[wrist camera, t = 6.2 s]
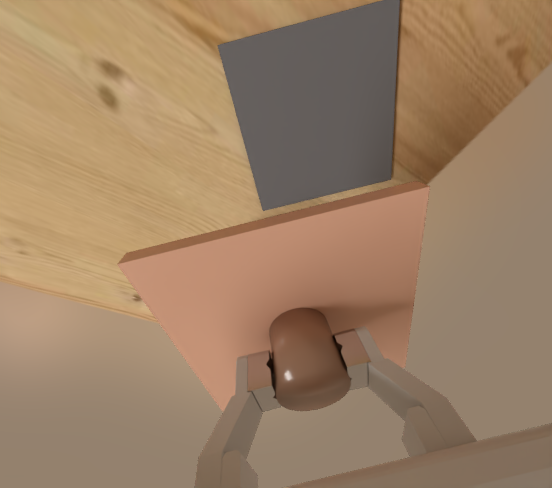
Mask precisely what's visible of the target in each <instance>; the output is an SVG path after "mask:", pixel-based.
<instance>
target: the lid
mask: <svg viewBox="0 0 552 488" xmlns="http://www.w3.org/2000/svg"><path fill="white" fill-rule="evenodd" d="M429 190H430V186H428V185H425V184H423V183H420V182H418V181H413V182H409V183H405V184H401V185H397V186H393V187H389V188H385V189H381V190H377V191H373V192H369V193H365V194H361V195H357V196H353V197H349V198H345V199H341V200H337V201H333V202H329V203H325V204H321V205H317V206H313V207H309V208H305V209H301V210H297V211H293V212H289V213H285V214H281V215H277V216H273V217H269V218H265V219H261V220H257V221H253V222H249V223H245V224H241V225H237V226H233V227H229V228H225V229H221V230H217V231H213V232H209V233H205V234H201V235H197V236H193V237H189V238H185V239H181V240H177V241H173V242H169V243H165V244H161V245H157V246H153V247H149V248H145V249H141V250H137V251H133V252H129V253H126V254H125V255H124V257H123V258H122V259H121V260H120V262H119V263H118V264H117V265H118V266H119V268H120V269H121V270H122V272H123V273H124V275H125V276H126V277H127V279H128V280H129V282H130V283H131V284H132V286H133V287H134V289H135V290H136V291H137V293H138V294H139V296H140V297H141V298H142V300H143V301H144V303H145V304H146V305H147V307H148V308H149V310H150V311H151V312H152V314H153V315H154V316H155V318H156V319H157V321H158V322H159V323H160V325H161V326H162V328H163V329H164V330H165V332H166V333H167V335H168V336H169V337H170V339H171V340H172V342H173V343H174V344H175V346H176V347H177V348H178V350H179V351H180V353H181V354H182V355H183V357H184V358H185V360H186V361H187V362H188V364H189V365H190V367H191V368H192V369H193V371H194V372H195V374H196V375H197V376H198V378H199V379H200V380H201V382H202V383H203V385H204V386H205V388H206V389H207V390H208V392H209V393H210V395H211V396H212V397H213V399H214V400H215V402H216V403H217V404H218V406H219V407H220V409H221V410H222V411H224V410H225V408H226V406H227V404H228V402H229V401H230V399H231V397H232V396H234V395H235V386H236V361H237V357H240V356H244V355H248V354H253V353H257V352H261V351H266V350H270V352H271V357H272V364H273V373H274V382H275V391H276V399H277V401H278V403H279V404H280V405H281V406H283V407H285V408H287V409H290V410H295V411H310V410H316V409H320V408H324V407H326V406H329V405H331V404H333V403H335V402H337V401H339V400H340V399H341V398H343V397H344V396H345V395H346V394H347V392H348V391H349V389H350V386H351V380H350V377H349V375H348V373H347V371H346V368H345V366H344V363H343V361H342V358H341V354H340V352H339V350H338V348H337V345H336V343H335V340H334V337H333V334H334V333H338V332H342V331H345V330H349V329H355V328H358V327H362V326H365V327H366V328H367V329H368V331H369V333H370V334H371V336H372V338H373V340H374V341H375V343H376V345H377V347H378V348H379V350H380V352H381V354H382V355H383V357H384V359H386V358H388V359H390V360H391V361H393V362H394V363H396V364H397V365H399V366H400V367H402V368H404V367H405V364H406V357H407V350H408V343H409V335H410V328H411V321H412V313H413V306H414V299H415V291H416V285H417V277H418V270H419V263H420V256H421V248H422V241H423V233H424V226H425V219H426V212H427V204H428V197H429Z"/></svg>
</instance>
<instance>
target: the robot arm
mask: <svg viewBox="0 0 552 488" xmlns="http://www.w3.org/2000/svg"><path fill="white" fill-rule="evenodd" d="M333 337H334V340H335V343H336V345H337V348H338V350H339V352H340V354H341V358H342V361H343V363H344V366H345V368H346V371H347V373H348V375H349V377H350V380H351V386H350V389H349V390H354V389H359V388H363V387H368V386H369V388H370V389H371V390H372V391H373V392H374V393H375V394H376V395H377V396H378V397H380V398H381V399H382V400H383V401H384V402H385V403H386V404H387V405H388V406H389V407H390V408H391V409H392V410H393V411H395V412H396V413H397V414H398V415H399V416H400V417H401V418H402V419H403V420H404V421H405V425H404V431H403V436H402V441H403V443H404V446H405V448H406V450H407V452H408V454H409V456H410V457H408V458H404V459H400V460H396V461H391V462H387V463H383V464H379V465H375V466H371V467H367V468H362V469H358V470H354V471H350V472H346V473H342V474H337V475H333V476H329V477H325V478H321V479H317V480H312V481H308V482H304V483H300V484H296V485H292V486H288V487H283V488H552V423H550V424H545V425H541V426H537V427H533V428H529V429H525V430H520V431H517V432H512V433H508V434H504V435H500V436H496V437H492V438H487V439H483V440H479V441H477V440H476V439H475V438H474V436H473V435H472V433H471V432H470V430H469V429H468V427H467V426H466V425H465V423H464V422H463V420H462V419H461V418H460V416H459V415H458V413H457V412H456V410H455V409H454V408H453V406H452V405H451V403H450V402H449V400H448V399H447V398H446V397H445V396H443V395H442V394H440V393H439V392H437V391H436V390H434V389H433V388H431V387H430V386H428V385H427V384H425V383H424V382H422V381H421V380H419V379H418V378H416V377H415V376H413V375H412V374H410V373H409V372H407V371H406V370H405V369H403V368H402V367H400V366H399V365H397V364H396V363H394V362H393V361H391V360H390V359H388V358H386V359H384V357H383V355H382V354H381V352H380V350H379V348H378V347H377V345H376V343H375V341H374V340H373V338H372V336H371V334H370V333H369V331H368V329H367V328H366V327H365V326H362V327H358V328H355V329H349V330H345V331H342V332H338V333H334V334H333ZM279 407H281V405H280V404H279V403H278V401H277V399H276V391H275V382H274V373H273V364H272V357H271V352H270V350H266V351H261V352H257V353H253V354H248V355H244V356H240V357H237V361H236V386H235V395H234V396H232V397H231V399H230V401H229V402H228V404H227V406H226V408H225V410H224V412H223V413H222V415H221V417H220V419H219V421H218V423H217V424H216V426H215V428H214V430H213V432H212V434H211V436H210V437H209V439H208V441H207V443H206V445H205V446H204V448H203V450H202V452H201V454H200V456H199V458H198V465H197V472H196V480H195V487H194V488H258V479H257V474H256V472H255V471H254V470H253V469H252V467H251V466H250V465H249V463H248V462H247V461H246V458H247V456H248V453H249V450H250V447H251V445H252V442H253V439H254V436H255V433H256V431H257V428H258V425H259V422H260V419H261V417H262V414H263V413H262V412H265V411H268V410H272V409H276V408H279Z"/></svg>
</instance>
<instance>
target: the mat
mask: <svg viewBox="0 0 552 488" xmlns="http://www.w3.org/2000/svg"><path fill="white" fill-rule="evenodd" d="M399 6H400V0H383V1H379V2H375V3H372V4H368V5H364V6H361V7H357V8H353V9H349V10H346V11H342V12H338V13H335V14H331V15H327V16H324V17H320V18H316V19H313V20H309V21H305V22H302V23H298V24H294V25H290V26H287V27H283V28H279V29H276V30H272V31H268V32H265V33H261V34H257V35H254V36H250V37H246V38H243V39H239V40H235V41H232V42H228V43H224V44H220V45H218V49H219V52H220V56H221V60H222V63H223V67H224V71H225V74H226V78H227V82H228V85H229V89H230V93H231V96H232V100H233V104H234V107H235V111H236V115H237V118H238V122H239V126H240V129H241V133H242V137H243V140H244V144H245V148H246V151H247V155H248V159H249V162H250V166H251V170H252V173H253V177H254V180H255V184H256V188H257V191H258V195H259V199H260V202H261V206H262V210H263V211H265V210H269V209H273V208H277V207H281V206H285V205H289V204H293V203H297V202H301V201H305V200H310V199H314V198H318V197H322V196H326V195H330V194H334V193H338V192H342V191H346V190H350V189H354V188H358V187H362V186H366V185H370V184H374V183H379V182H383V181H387V180H391V170H392V150H393V129H394V109H395V88H396V67H397V47H398V26H399Z"/></svg>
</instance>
